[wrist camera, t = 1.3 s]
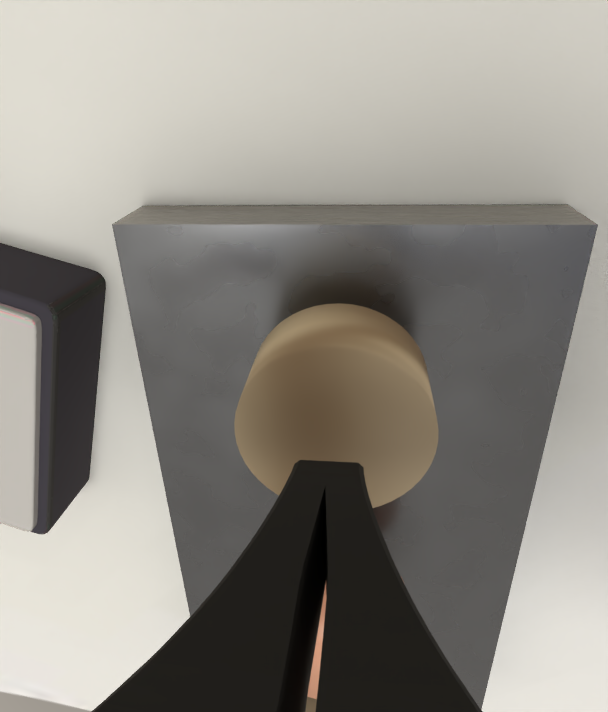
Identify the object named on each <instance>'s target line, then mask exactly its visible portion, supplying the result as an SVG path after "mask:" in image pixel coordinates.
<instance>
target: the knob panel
mask: <svg viewBox="0 0 608 712" xmlns="http://www.w3.org/2000/svg"><path fill="white" fill-rule="evenodd" d="M112 226H113V231H114V236H115V241H116V246H117V251H118V256H119V261H120V266H121V271H122V276H123V281H124V286H125V291H126V296H127V301H128V306H129V311H130V316H131V321H132V326H133V331H134V336H135V341H136V346H137V351H138V356H139V361H140V366H141V371H142V376H143V381H144V386H145V391H146V396H147V401H148V406H149V411H150V416H151V421H152V426H153V431H154V436H155V442H156V447H157V452H158V457H159V462H160V467H161V472H162V477H163V482H164V487H165V492H166V497H167V502H168V507H169V512H170V517H171V522H172V527H173V532H174V537H175V542H176V547H177V552H178V557H179V562H180V567H181V572H182V577H183V582H184V587H185V592H186V597H187V602H188V607H189V612H190V617H191V616H192V614H193V613H194V612H195V611H196V610H197V609H198V608H199V607H200V605H201V604H202V603H203V602H204V601H205V600H206V598H207V597H208V596H209V595H210V594H211V593H212V591H213V590H214V589H215V588H216V587H217V585H218V584H219V583H220V582H221V580H222V579H223V578H224V577H225V575H226V574H227V573H228V571H229V570H230V569H231V567H232V566H233V565H234V563H235V562H236V561H237V559H238V558H239V556H240V555H241V554H242V552H243V551H244V550H245V548H246V547H247V545H248V544H249V543H250V541H251V540H252V538H253V537H254V535H255V534H256V532H257V531H258V529H259V528H260V526H261V525H262V523H263V521H264V520H265V518H266V517H267V515H268V513H269V512H270V510H271V509H272V507H273V505H274V504H275V502H276V500H277V498H278V497H279V495H277V494H276V493H274V492H273V491H271V490H270V489H268V488H267V487H266V486H265V485H264V484H263V483H261V482H260V481H259V480H258V479H257V478H256V477H255V475H254V474H253V473H252V472H251V471H250V469H249V468H248V466H247V465H246V464H245V462H244V460H243V458H242V456H241V454H240V452H239V449H238V446H237V443H236V437H235V427H234V421H235V413H236V409H237V406H238V402H239V399H240V397H241V394H242V392H243V389H244V387H245V384H246V381H247V379H248V376H249V374H250V371H251V368H252V366H253V363H254V361H255V358H256V355H257V353H258V351H259V349H260V347H261V344H262V343H263V341H264V340H265V338H266V337H267V335H268V334H269V333H270V332H271V331H272V330H273V329H274V328H275V327H276V326H277V325H278V324H279V323H281V322H282V321H283V320H284V319H286V318H288V317H289V316H291V315H293V314H295V313H297V312H299V311H301V310H304V309H307V308H310V307H313V306H318V305H324V304H337V303H341V304H353V305H358V306H363V307H366V308H369V309H372V310H375V311H377V312H380V313H382V314H384V315H386V316H388V317H389V318H391V319H392V320H394V321H395V322H397V323H398V324H399V325H400V326H402V327H403V328H404V329H405V330H406V331H407V332H408V333H409V334H410V336H411V337H412V338H413V339H414V341H415V342H416V344H417V345H418V347H419V348H420V351H421V353H422V355H423V357H424V360H425V364H426V367H427V372H428V377H429V382H430V387H431V392H432V397H433V402H434V406H435V411H436V416H437V422H438V430H439V432H438V445H437V450H436V454H435V456H434V459H433V461H432V464H431V465H430V467H429V469H428V471H427V472H426V473H425V475H424V476H423V477H422V479H421V480H420V481H419V482H418V483H417V484H416V485H415V486H414V487H413V488H412V489H410V490H409V491H408V492H406V493H405V494H404V495H402V496H400V497H399V498H397V499H395V500H393V501H391V502H389V503H386V504H384V505H382V506H378V507H375V508H373V511H374V514H375V517H376V519H377V522H378V525H379V527H380V530H381V532H382V535H383V537H384V540H385V542H386V545H387V547H388V550H389V552H390V554H391V557H392V559H393V561H394V563H395V566H396V568H397V570H398V572H399V574H400V576H401V577H402V579H403V581H404V584H405V586H406V588H407V590H408V592H409V594H410V596H411V598H412V600H413V602H414V604H415V606H416V608H417V609H418V611H419V613H420V615H421V616H422V618H423V620H424V622H425V624H426V625H427V627H428V629H429V631H430V632H431V634H432V636H433V637H434V639H435V641H436V642H437V644H438V646H439V647H440V649H441V650H442V652H443V654H444V655H445V657H446V659H447V660H448V662H449V663H450V665H451V666H452V668H453V669H454V671H455V672H456V674H457V675H458V677H459V678H460V680H461V681H462V683H463V684H464V686H465V687H466V689H467V690H468V692H469V693H470V694H471V696H472V697H473V699H474V700H475V702H476V703H477V705H478V706H479V708H480V709H481V708H482V704H483V700H484V696H485V692H486V688H487V684H488V679H489V675H490V671H491V667H492V663H493V659H494V654H495V650H496V646H497V642H498V638H499V634H500V629H501V625H502V621H503V617H504V613H505V609H506V604H507V600H508V596H509V592H510V588H511V584H512V579H513V575H514V571H515V567H516V563H517V559H518V555H519V550H520V546H521V542H522V538H523V534H524V530H525V525H526V521H527V517H528V513H529V509H530V505H531V500H532V496H533V492H534V488H535V484H536V480H537V475H538V471H539V467H540V463H541V459H542V455H543V450H544V446H545V442H546V438H547V434H548V430H549V426H550V421H551V417H552V413H553V409H554V405H555V401H556V396H557V392H558V388H559V384H560V380H561V376H562V371H563V367H564V363H565V359H566V355H567V351H568V346H569V342H570V338H571V334H572V330H573V326H574V322H575V317H576V313H577V309H578V305H579V301H580V297H581V292H582V288H583V284H584V280H585V276H586V272H587V267H588V263H589V259H590V255H591V251H592V247H593V242H594V238H595V234H596V230H597V226H598V225H597V224H596V223H594V222H593V221H591V220H590V219H588V218H587V217H585V216H584V215H582V214H581V213H579V212H578V211H576V210H575V209H573V208H572V207H570V206H569V205H274V206H142V207H140V208H139V209H137V210H135V211H134V212H132V213H130V214H129V215H127V216H125V217H124V218H122V219H120V220H119V221H117V222H115V223H114V224H112Z"/></svg>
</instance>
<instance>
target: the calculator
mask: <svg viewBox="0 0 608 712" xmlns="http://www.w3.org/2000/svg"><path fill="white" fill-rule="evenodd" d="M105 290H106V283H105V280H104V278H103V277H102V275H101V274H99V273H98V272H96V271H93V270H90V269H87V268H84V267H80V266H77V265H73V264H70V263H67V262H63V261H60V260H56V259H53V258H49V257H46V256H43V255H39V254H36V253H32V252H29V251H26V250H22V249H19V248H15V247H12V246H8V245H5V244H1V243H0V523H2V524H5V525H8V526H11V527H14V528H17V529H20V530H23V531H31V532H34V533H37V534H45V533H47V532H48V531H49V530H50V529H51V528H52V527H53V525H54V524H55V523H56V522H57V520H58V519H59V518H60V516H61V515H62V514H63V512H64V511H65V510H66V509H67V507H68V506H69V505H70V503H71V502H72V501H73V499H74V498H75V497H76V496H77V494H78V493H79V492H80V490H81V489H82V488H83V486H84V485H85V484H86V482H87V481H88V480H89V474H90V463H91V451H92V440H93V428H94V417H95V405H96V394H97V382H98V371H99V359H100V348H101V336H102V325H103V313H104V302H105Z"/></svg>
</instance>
